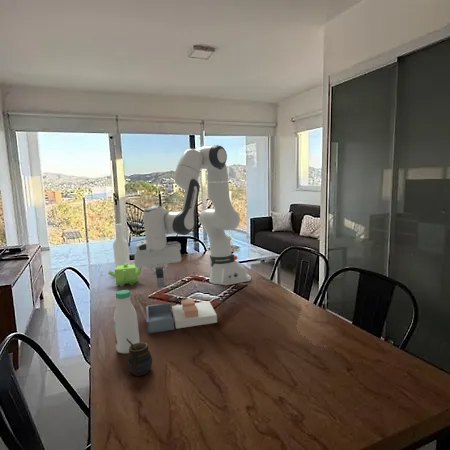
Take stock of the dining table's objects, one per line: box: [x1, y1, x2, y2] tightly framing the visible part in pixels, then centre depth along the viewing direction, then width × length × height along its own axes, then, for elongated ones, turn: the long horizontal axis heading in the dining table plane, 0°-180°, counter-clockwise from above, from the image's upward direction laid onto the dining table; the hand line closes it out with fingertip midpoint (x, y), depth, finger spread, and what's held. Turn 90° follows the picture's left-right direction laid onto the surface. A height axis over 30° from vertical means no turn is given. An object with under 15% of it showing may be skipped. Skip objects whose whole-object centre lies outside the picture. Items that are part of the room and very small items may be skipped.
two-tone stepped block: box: [154, 264, 166, 288], centre depth 154 cm, size 3×14×7 cm, turn 13°
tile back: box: [180, 298, 196, 310], centre depth 144 cm, size 5×5×2 cm
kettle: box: [108, 263, 143, 287], centre depth 191 cm, size 15×14×11 cm
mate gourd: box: [126, 339, 153, 377], centre depth 103 cm, size 7×8×10 cm
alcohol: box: [112, 223, 131, 269], centre depth 217 cm, size 9×9×30 cm
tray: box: [145, 302, 175, 334], centre depth 138 cm, size 10×17×4 cm, turn 13°
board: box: [171, 300, 218, 329], centre depth 141 cm, size 16×16×3 cm
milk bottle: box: [113, 289, 141, 354], centre depth 117 cm, size 8×8×20 cm
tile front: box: [183, 306, 198, 318], centre depth 136 cm, size 5×5×2 cm
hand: (159, 273), depth 154 cm, fingers closed on two-tone stepped block, 3 cm apart
